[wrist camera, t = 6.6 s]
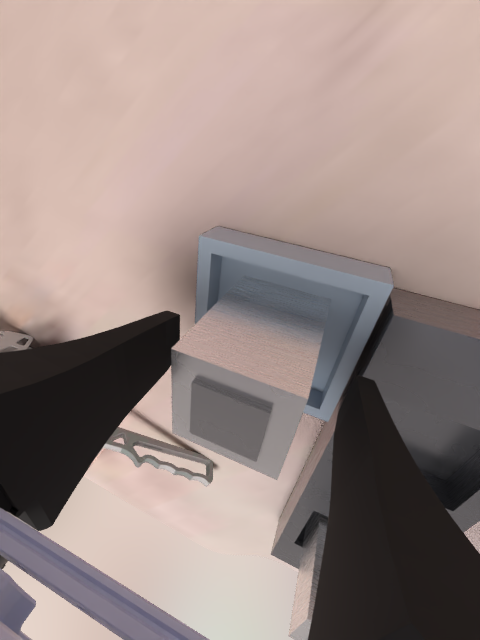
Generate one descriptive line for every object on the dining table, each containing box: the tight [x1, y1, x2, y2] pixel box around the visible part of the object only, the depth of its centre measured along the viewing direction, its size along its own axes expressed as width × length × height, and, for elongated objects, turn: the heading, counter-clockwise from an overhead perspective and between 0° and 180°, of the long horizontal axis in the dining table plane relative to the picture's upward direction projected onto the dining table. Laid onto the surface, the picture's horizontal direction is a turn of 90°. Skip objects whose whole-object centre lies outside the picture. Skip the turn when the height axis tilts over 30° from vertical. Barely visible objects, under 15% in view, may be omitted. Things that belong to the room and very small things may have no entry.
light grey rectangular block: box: [171, 276, 331, 480], centre depth 11 cm, size 4×4×6 cm
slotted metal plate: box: [271, 288, 480, 569], centre depth 16 cm, size 7×22×2 cm, turn 172°
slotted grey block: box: [289, 511, 328, 640], centre depth 16 cm, size 4×4×6 cm
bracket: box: [0, 330, 213, 487], centre depth 22 cm, size 3×21×10 cm, turn 64°
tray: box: [195, 226, 394, 422], centre depth 13 cm, size 8×8×2 cm
